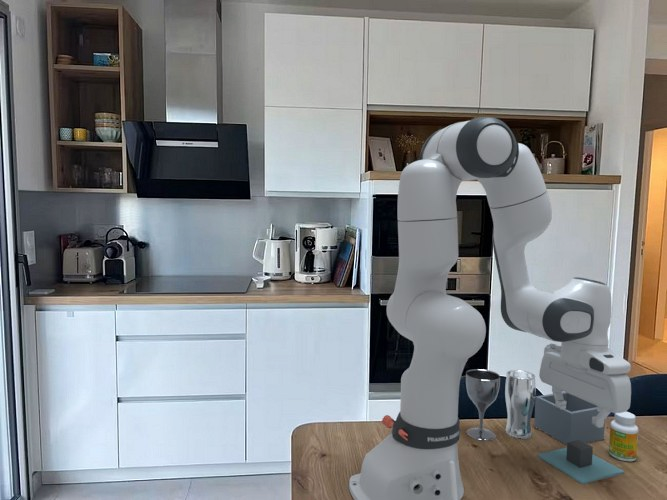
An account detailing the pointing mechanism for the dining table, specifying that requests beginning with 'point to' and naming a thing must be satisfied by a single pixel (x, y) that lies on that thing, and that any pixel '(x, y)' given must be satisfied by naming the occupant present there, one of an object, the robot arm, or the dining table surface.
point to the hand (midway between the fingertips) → (578, 416)
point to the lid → (580, 462)
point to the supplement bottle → (623, 437)
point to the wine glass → (482, 398)
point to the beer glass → (519, 402)
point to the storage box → (567, 419)
